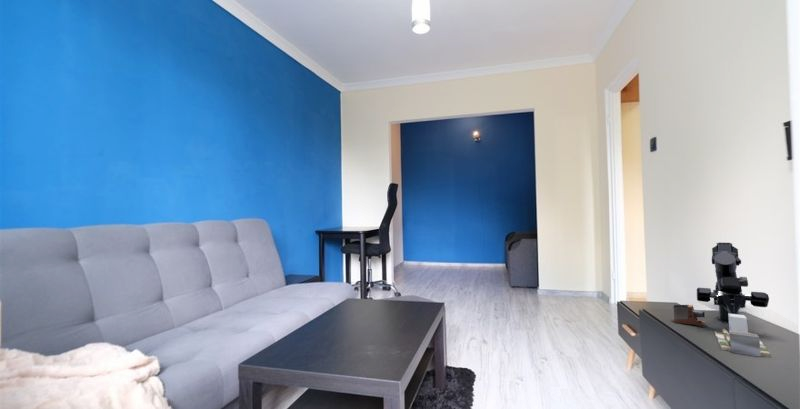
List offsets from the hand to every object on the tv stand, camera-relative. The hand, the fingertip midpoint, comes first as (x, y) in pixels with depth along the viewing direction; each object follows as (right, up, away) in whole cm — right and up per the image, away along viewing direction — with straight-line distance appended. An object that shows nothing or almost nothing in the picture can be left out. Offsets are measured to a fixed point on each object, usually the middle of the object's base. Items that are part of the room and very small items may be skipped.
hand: (734, 317), depth 118 cm
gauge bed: (-5, -7, -6) cm, 11 cm away
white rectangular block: (-4, -6, -3) cm, 8 cm away
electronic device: (-3, -8, +15) cm, 17 cm away
